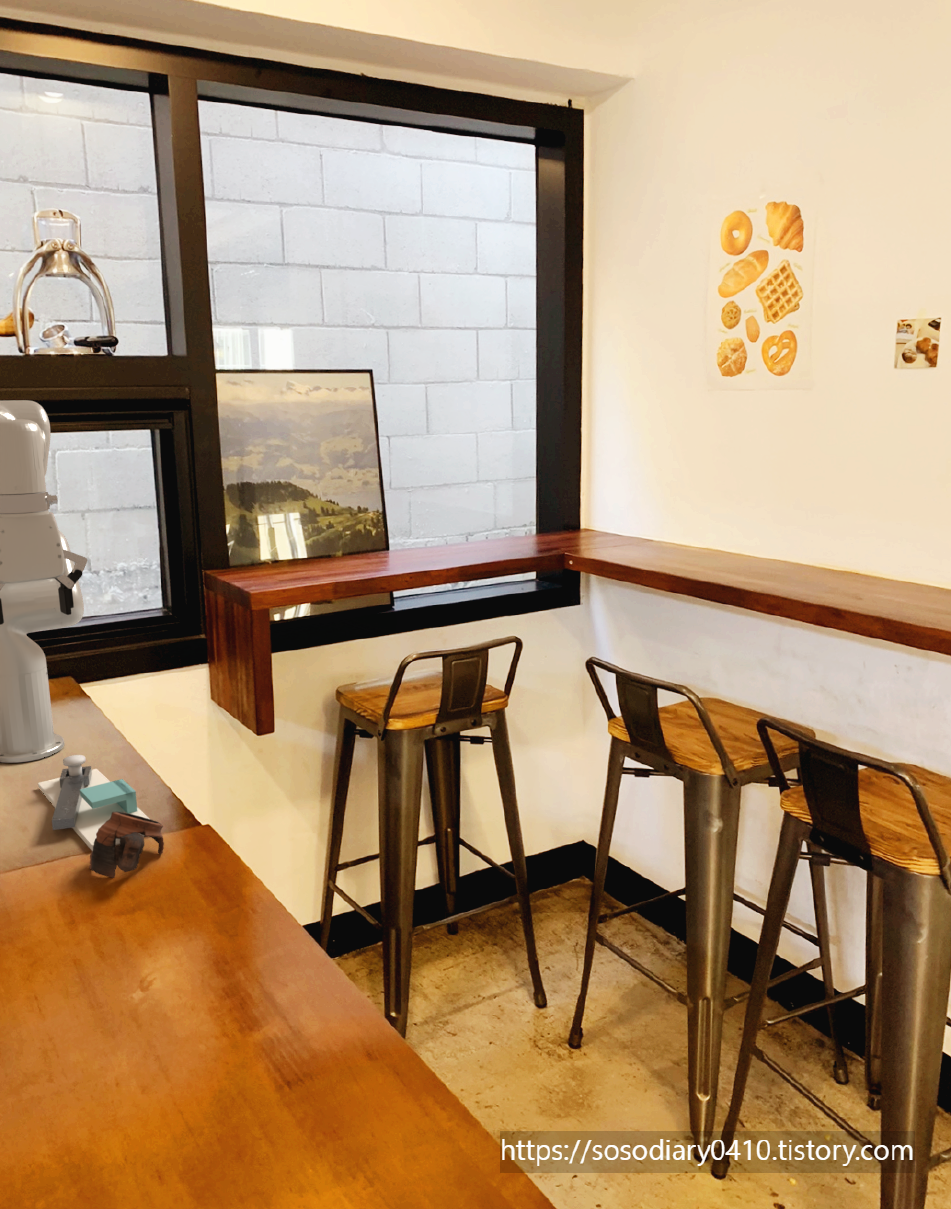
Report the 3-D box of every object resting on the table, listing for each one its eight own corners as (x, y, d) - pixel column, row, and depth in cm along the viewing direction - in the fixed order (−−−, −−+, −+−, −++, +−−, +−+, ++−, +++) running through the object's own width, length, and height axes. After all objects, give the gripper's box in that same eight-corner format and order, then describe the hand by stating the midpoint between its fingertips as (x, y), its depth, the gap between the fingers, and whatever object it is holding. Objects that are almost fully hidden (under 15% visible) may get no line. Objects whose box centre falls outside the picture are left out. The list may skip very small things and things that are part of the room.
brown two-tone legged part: (78, 863, 133) (99, 805, 135) (144, 877, 138) (163, 820, 140) (93, 878, 123) (115, 815, 125) (164, 893, 128) (184, 832, 130)
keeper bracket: (81, 809, 147) (79, 789, 146) (124, 798, 151) (122, 778, 150) (94, 823, 142) (92, 802, 141) (137, 811, 146) (135, 791, 145)
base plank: (38, 788, 157) (35, 758, 156) (97, 773, 163) (94, 745, 161) (92, 851, 136) (89, 817, 134) (158, 832, 141) (155, 799, 140)
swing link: (63, 777, 158) (62, 768, 158) (91, 774, 159) (91, 765, 159) (47, 830, 139) (46, 821, 139) (79, 826, 140) (78, 817, 140)
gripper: (72, 499, 149) (83, 606, 152) (-51, 508, 138) (-36, 623, 141) (88, 502, 143) (99, 613, 146) (-39, 511, 132) (-24, 631, 136)
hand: (33, 618), depth 144 cm, fingers open, 9 cm apart
